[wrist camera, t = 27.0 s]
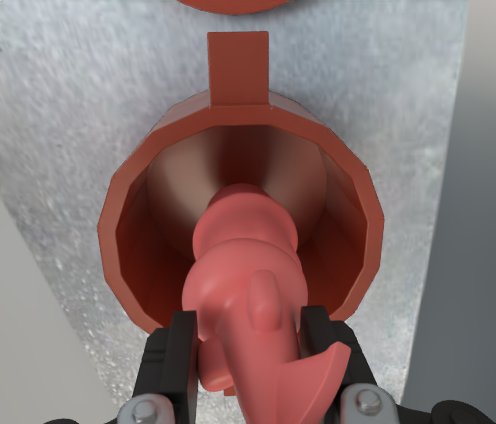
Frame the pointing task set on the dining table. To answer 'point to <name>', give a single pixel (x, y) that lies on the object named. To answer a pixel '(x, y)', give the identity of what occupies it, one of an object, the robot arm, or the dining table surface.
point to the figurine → (256, 311)
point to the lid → (233, 5)
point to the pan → (233, 172)
